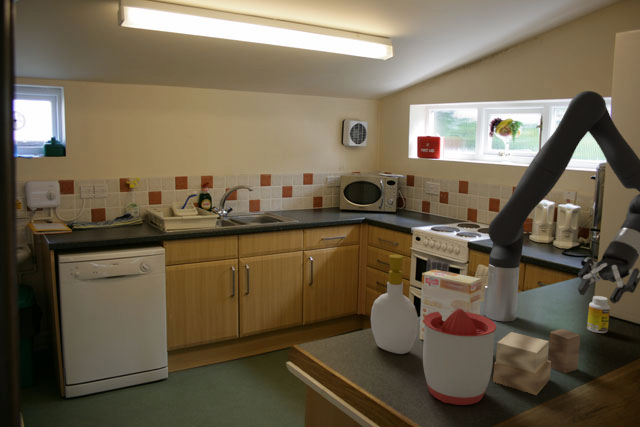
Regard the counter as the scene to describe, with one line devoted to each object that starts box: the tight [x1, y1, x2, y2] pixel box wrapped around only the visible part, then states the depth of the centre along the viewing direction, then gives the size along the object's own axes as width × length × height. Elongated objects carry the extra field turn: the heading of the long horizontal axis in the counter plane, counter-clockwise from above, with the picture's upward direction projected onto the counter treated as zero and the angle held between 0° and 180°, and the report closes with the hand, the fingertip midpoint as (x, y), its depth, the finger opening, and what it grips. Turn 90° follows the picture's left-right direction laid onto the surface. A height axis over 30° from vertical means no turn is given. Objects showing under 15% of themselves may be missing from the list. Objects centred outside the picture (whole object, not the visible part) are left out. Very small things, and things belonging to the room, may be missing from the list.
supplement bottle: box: [586, 295, 611, 334], centre depth 160 cm, size 6×6×10 cm
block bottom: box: [492, 359, 552, 396], centre depth 127 cm, size 10×10×5 cm
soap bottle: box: [370, 254, 419, 355], centre depth 143 cm, size 14×9×26 cm, turn 46°
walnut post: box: [547, 328, 581, 374], centre depth 134 cm, size 5×5×9 cm
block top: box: [495, 331, 549, 374], centre depth 127 cm, size 9×9×5 cm
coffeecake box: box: [419, 269, 483, 341], centre depth 148 cm, size 15×7×20 cm, turn 47°
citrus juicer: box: [422, 309, 497, 406], centre depth 120 cm, size 16×17×20 cm
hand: (596, 297), depth 138 cm, fingers open, 8 cm apart
